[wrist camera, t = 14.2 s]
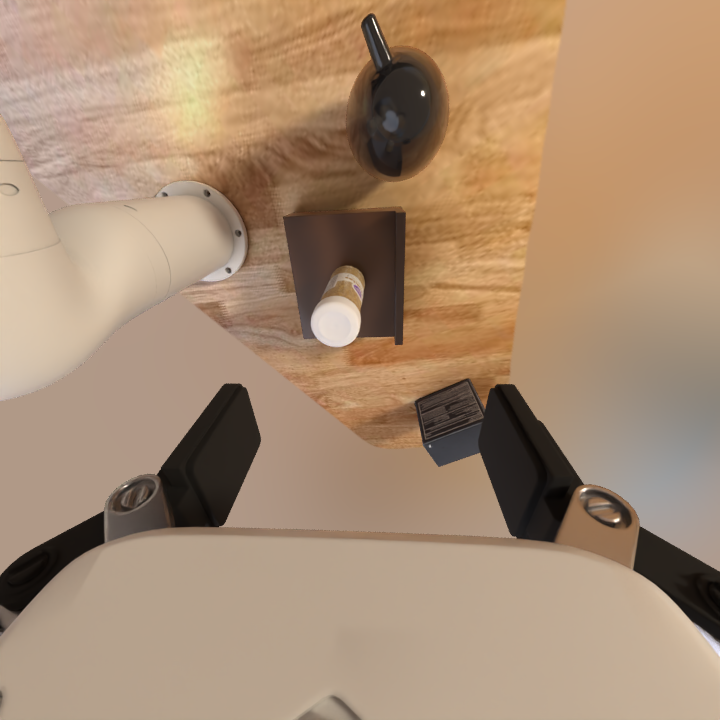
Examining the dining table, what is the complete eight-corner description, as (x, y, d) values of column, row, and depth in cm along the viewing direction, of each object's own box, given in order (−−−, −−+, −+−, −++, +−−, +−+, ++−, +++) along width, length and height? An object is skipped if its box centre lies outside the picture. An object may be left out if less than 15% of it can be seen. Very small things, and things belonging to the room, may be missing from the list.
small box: (428, 424, 57) (438, 469, 48) (413, 400, 54) (420, 444, 45) (482, 402, 54) (503, 447, 45) (469, 376, 51) (488, 419, 42)
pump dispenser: (413, 39, 30) (440, -65, 17) (453, 146, 35) (499, 127, 22) (330, 109, 33) (301, 65, 20) (377, 199, 38) (377, 210, 25)
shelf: (310, 324, 47) (299, 347, 41) (293, 212, 39) (276, 219, 33) (399, 321, 46) (402, 344, 40) (400, 206, 38) (405, 212, 32)
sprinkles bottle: (372, 282, 38) (370, 327, 27) (348, 306, 40) (336, 357, 29) (346, 256, 37) (332, 292, 25) (322, 282, 38) (299, 326, 27)
